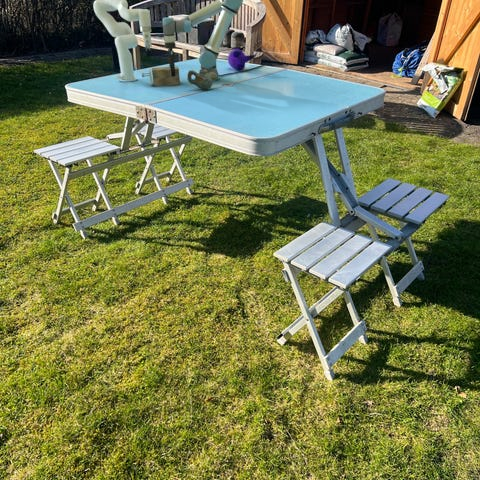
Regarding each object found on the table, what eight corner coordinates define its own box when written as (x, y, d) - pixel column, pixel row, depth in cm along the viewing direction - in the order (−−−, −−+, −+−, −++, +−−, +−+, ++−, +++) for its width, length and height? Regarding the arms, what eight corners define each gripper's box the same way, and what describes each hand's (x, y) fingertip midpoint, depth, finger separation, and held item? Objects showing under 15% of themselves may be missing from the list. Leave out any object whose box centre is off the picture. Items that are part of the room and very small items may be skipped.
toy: (240, 72, 359) (228, 71, 382) (259, 65, 362) (246, 64, 386) (234, 52, 351) (222, 52, 375) (253, 45, 354) (241, 45, 378)
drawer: (143, 85, 320) (141, 72, 315) (142, 83, 328) (141, 69, 324) (175, 83, 324) (174, 70, 320) (174, 81, 332) (173, 68, 328)
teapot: (216, 86, 317) (215, 63, 310) (220, 89, 308) (219, 66, 300) (186, 88, 312) (184, 66, 304) (190, 92, 302) (188, 68, 295)
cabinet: (154, 86, 321) (152, 70, 316) (153, 83, 331) (151, 67, 325) (180, 84, 325) (178, 68, 319) (178, 82, 334) (177, 66, 328)
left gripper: (151, 30, 304) (154, 57, 313) (150, 28, 319) (153, 53, 327) (140, 30, 303) (143, 57, 312) (140, 28, 318) (143, 54, 326)
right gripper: (176, 43, 305) (179, 77, 316) (173, 40, 325) (176, 71, 336) (165, 44, 304) (168, 78, 315) (163, 40, 323) (166, 72, 335)
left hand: (148, 55), depth 320 cm, fingers open, 9 cm apart
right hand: (172, 75), depth 325 cm, fingers closed on cabinet, 11 cm apart
